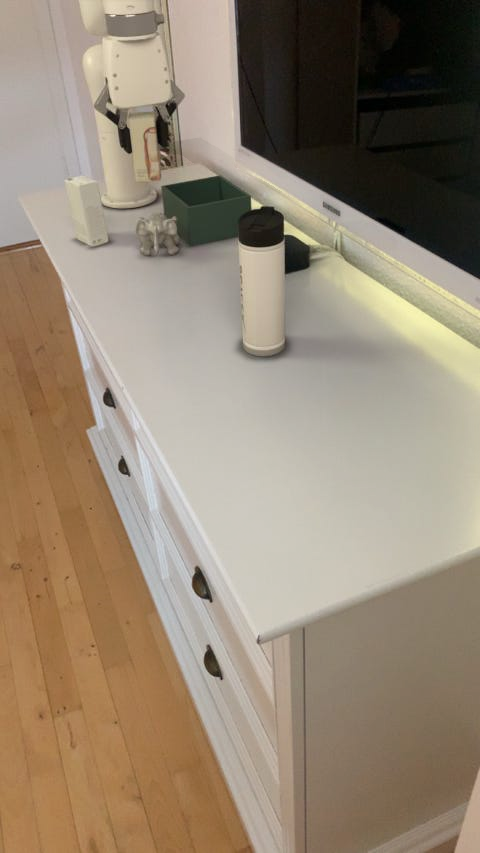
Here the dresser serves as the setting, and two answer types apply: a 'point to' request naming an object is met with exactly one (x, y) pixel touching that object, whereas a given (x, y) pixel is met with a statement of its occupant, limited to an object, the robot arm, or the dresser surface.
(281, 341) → the travel mug
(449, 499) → the dresser surface
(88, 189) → the cosmetic box
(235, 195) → the bin
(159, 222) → the gray elephant figurine
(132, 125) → the cream printed box
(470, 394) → the dresser surface
